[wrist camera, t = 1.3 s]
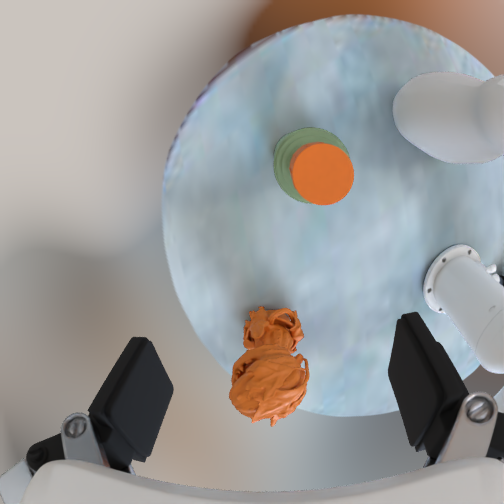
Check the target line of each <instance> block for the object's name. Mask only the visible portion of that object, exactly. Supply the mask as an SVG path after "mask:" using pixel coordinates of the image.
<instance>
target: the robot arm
mask: <svg viewBox="0 0 504 504" xmlns="http://www.w3.org/2000/svg"><path fill="white" fill-rule="evenodd" d="M495 271H496V265H495V264H492V265H489V266H488V267H486V266H484V265H483V264H482V263H481V259H480V257H479V255H478V253H477V252H476V251H475V250H474V249H473V248H471V247H470V246H468V245H464V244H460V245H455V246H452V247H450V248H448V249H446V250H445V251H443V252H442V253H441V254H440V255H439V256H438V257H437V258H436V259H435V260H434V262H433V263H432V264H431V266H430V268H429V270H428V272H427V274H426V277H425V281H424V286H423V294H424V299H425V301H426V303H427V304H428V306H429V307H430V308H431V309H432V310H433V311H435V312H438V313H446V315H447V316H448V317H449V319H450V320H451V321H452V323H453V324H454V325H455V327H456V328H457V330H458V331H459V332H460V334H461V335H462V337H463V338H464V340H465V341H466V342H467V344H468V345H469V347H470V348H471V350H472V351H473V353H474V354H475V356H476V357H477V359H478V360H479V362H480V364H481V365H482V366H483V367H484V368H485V369H486V370H488V371H490V372H493V373H501V374H504V287H503V286H502V285H501V284H500V283H499V282H500V278H499V275H498V274H497V273H496V274H493V275H490V274H491V273H493V272H495ZM388 376H389V380H390V382H391V385H392V388H393V391H394V394H395V397H396V400H397V403H398V406H399V410H400V413H401V416H402V419H403V422H404V426H405V429H406V432H407V436H408V440H409V443H410V445H411V446H415V449H416V452H419V451H422V450H425V449H426V452H427V455H428V456H429V457H428V459H427V461H426V463H425V464H424V466H423V468H421V469H417V470H413V471H410V472H406V473H403V474H399V475H396V476H391V477H387V478H382V479H378V480H373V481H368V482H364V483H358V484H353V485H346V486H340V487H333V488H324V489H315V490H301V491H281V492H252V491H230V490H218V489H208V488H200V487H192V486H186V485H180V484H174V483H168V482H163V481H159V480H154V479H149V478H145V477H141V476H137V475H136V474H135V472H134V470H133V467H132V465H131V461H132V459H133V460H136V461H141V462H145V461H146V458H147V457H149V456H150V455H151V452H152V449H153V447H154V444H155V441H156V438H157V435H158V433H159V430H160V427H161V424H162V421H163V419H164V416H165V413H166V411H167V408H168V405H169V402H170V400H171V397H172V394H173V385H172V383H171V381H170V379H169V377H168V375H167V373H166V371H165V369H164V367H163V365H162V363H161V361H160V358H159V357H158V354H157V352H156V350H155V348H154V346H153V344H152V342H151V341H149V340H148V339H147V338H146V337H133V338H131V340H130V341H129V343H128V344H127V346H126V347H125V349H124V351H123V352H122V354H121V355H120V357H119V359H118V360H117V362H116V363H115V365H114V367H113V368H112V370H111V372H110V373H109V375H108V377H107V378H106V380H105V382H104V383H103V385H102V387H101V388H100V390H99V392H98V394H97V395H96V397H95V399H94V400H93V402H92V404H91V406H90V407H89V409H88V411H89V415H88V416H87V415H86V414H84V413H73V414H71V415H69V416H68V417H67V418H66V419H65V420H64V421H63V423H62V426H61V433H60V434H57V435H55V436H53V437H50V438H48V439H45V440H43V441H41V442H38V443H36V444H34V445H32V446H31V447H30V448H29V450H28V453H27V456H26V460H25V459H24V458H23V459H22V460H21V461H19V462H18V463H17V464H16V465H14V466H13V467H12V468H10V469H9V470H8V471H6V472H5V473H4V474H2V475H1V476H0V495H1V498H2V500H3V502H4V504H504V386H503V388H502V389H501V390H500V391H499V392H498V393H497V394H496V395H495V396H494V397H492V396H491V395H490V394H487V393H485V392H474V393H472V394H469V393H468V391H467V389H466V387H465V385H464V383H463V381H462V379H461V377H460V376H459V374H458V372H457V370H456V368H455V367H454V365H453V363H452V361H451V360H450V358H449V356H448V354H447V353H446V351H445V349H444V348H443V346H442V345H441V344H440V343H439V342H436V341H435V339H434V337H433V336H432V334H431V332H430V331H429V329H428V328H427V326H426V324H425V323H424V321H423V320H422V318H421V317H420V315H419V314H418V312H412V313H407V314H403V315H402V316H401V319H398V320H397V324H396V331H395V337H394V342H393V348H392V353H391V358H390V363H389V368H388Z"/></svg>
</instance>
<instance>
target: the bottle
mask: <svg viewBox="0 0 504 504" xmlns="http://www.w3.org/2000/svg"><path fill="white" fill-rule="evenodd" d="M313 142H324V143H325V144H331V145H334V146H336V147H339V148H340V149H341V150H342V151H344V152H345V153H346V155H347V156H348V157H349V154H348V152H347V149H346V148H345V146H344V144H343V143H342V142H341V141H340V140H339V139H338V138H337V137H336V136H335V135H334V134H332V133H330V132H328V131H326V130H324V129H320V128H303V129H299V130H296V131H293V132H291V133H288V134H286V135H285V136H283V137H282V138H281V139H280V140H279V142H278V143H277V145H276V148H275V153H274V173H275V177H276V179H277V182H278V184H279V185H280V187H281V188H282V189H283V190H284V192H285V193H287V194H288V195H289V196H290V197H292V198H293V199H295V200H297V201H300V202H303V203H309V204H313V203H311V202H309V201H307V200H306V199H304V198H303V197H302V196H301V195H300V194H299V193H298V191H297V190H296V189H295V187H294V185H293V182H292V181H293V180H292V178H291V175H290V170H289V168H290V161H291V158H292V156H293V154H294V153H295V152H296V151H297V149H299V148H300V147H301V146H303V145H305V144H308V143H313ZM349 159H350V158H349Z"/></svg>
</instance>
